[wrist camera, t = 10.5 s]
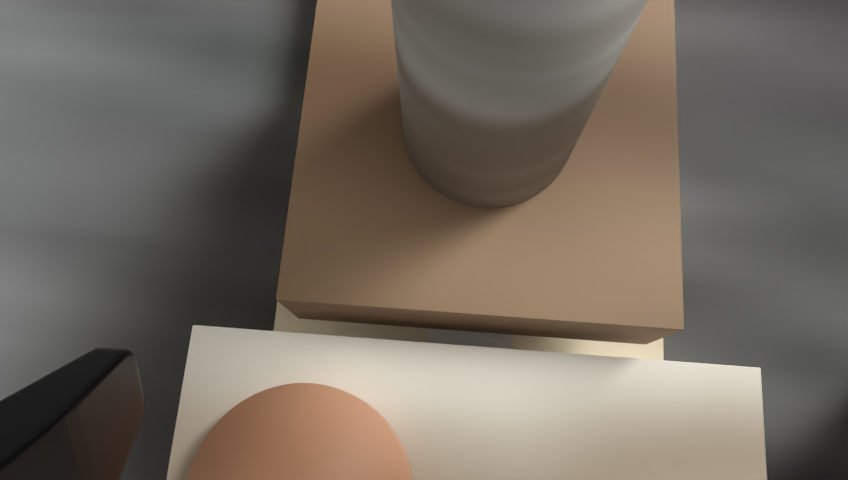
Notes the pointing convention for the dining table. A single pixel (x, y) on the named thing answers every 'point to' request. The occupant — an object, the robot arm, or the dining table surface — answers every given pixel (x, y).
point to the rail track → (456, 407)
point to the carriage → (489, 169)
